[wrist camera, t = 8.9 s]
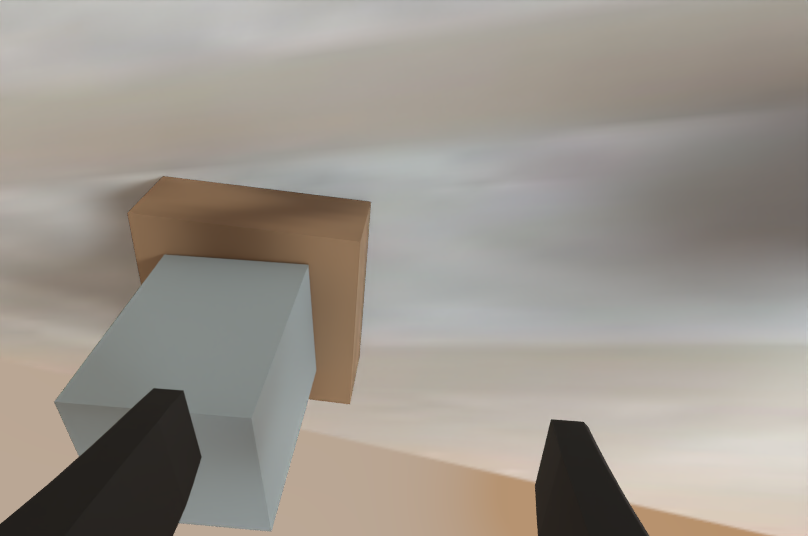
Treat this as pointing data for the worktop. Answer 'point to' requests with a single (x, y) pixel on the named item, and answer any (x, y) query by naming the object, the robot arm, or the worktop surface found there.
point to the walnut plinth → (271, 253)
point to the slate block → (211, 376)
